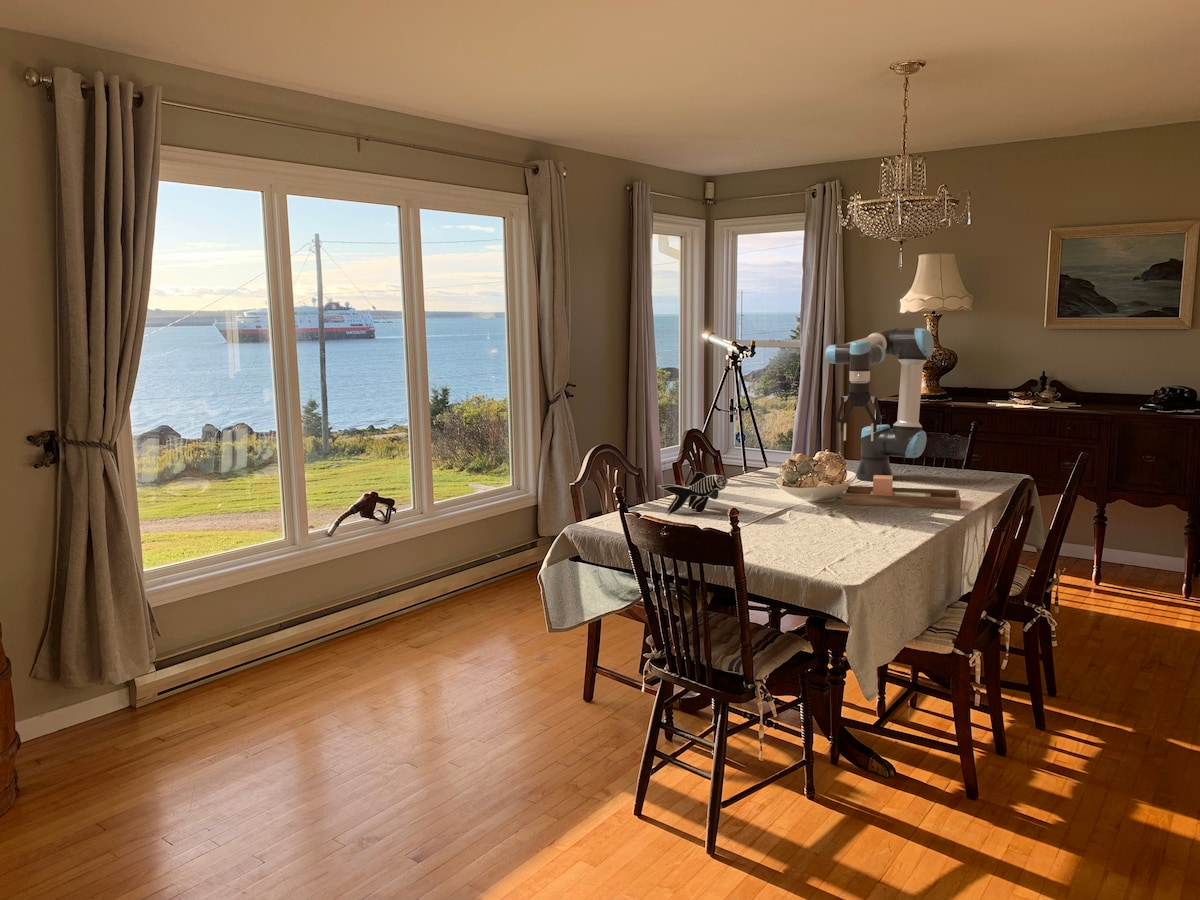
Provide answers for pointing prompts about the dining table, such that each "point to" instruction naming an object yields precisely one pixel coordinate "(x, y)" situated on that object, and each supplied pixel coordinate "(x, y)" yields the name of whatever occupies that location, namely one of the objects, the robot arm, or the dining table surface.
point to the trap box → (903, 497)
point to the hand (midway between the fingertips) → (858, 440)
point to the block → (882, 485)
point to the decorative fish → (695, 492)
